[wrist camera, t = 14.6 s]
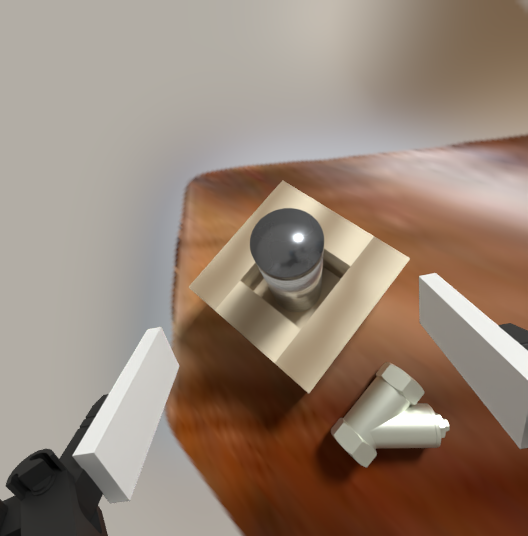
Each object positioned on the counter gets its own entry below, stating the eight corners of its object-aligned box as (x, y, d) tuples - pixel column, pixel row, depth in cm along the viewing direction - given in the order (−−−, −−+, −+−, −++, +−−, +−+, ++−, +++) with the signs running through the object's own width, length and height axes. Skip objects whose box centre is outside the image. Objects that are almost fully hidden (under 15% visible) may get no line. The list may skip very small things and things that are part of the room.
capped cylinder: (331, 284, 30) (339, 233, 19) (300, 322, 30) (291, 291, 19) (293, 257, 32) (281, 195, 21) (263, 292, 31) (234, 247, 20)
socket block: (392, 278, 31) (410, 258, 25) (310, 388, 29) (308, 393, 23) (287, 210, 35) (282, 180, 30) (209, 301, 33) (188, 287, 28)
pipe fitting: (444, 414, 27) (382, 361, 28) (468, 424, 23) (395, 362, 25) (389, 487, 26) (328, 427, 27) (405, 510, 22) (333, 439, 24)
